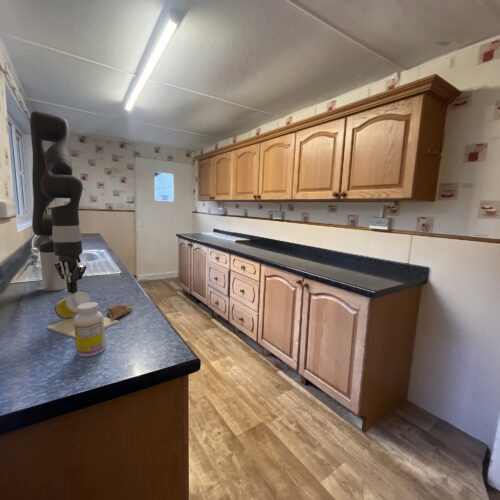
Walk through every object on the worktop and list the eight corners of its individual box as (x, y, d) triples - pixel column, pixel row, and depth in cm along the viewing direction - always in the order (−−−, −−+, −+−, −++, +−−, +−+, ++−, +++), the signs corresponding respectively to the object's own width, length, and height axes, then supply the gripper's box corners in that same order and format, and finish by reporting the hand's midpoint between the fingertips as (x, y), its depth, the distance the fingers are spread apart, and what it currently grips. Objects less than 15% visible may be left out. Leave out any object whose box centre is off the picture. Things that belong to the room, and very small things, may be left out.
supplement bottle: (84, 344, 75) (81, 300, 73) (109, 344, 76) (106, 300, 74) (71, 358, 69) (66, 310, 66) (98, 357, 69) (95, 309, 67)
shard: (112, 321, 89) (112, 315, 89) (92, 318, 90) (92, 313, 90) (133, 311, 99) (133, 306, 99) (115, 308, 101) (115, 304, 101)
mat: (46, 328, 84) (46, 326, 84) (86, 313, 96) (86, 311, 96) (79, 339, 78) (79, 337, 78) (118, 322, 90) (118, 320, 89)
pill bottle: (61, 323, 89) (79, 312, 84) (49, 307, 89) (67, 295, 83) (78, 312, 95) (96, 301, 90) (67, 297, 94) (85, 285, 89)
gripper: (42, 239, 85) (47, 293, 88) (68, 242, 80) (74, 298, 82) (66, 237, 92) (71, 286, 94) (92, 239, 86) (97, 292, 89)
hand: (72, 292), depth 88 cm, fingers closed
